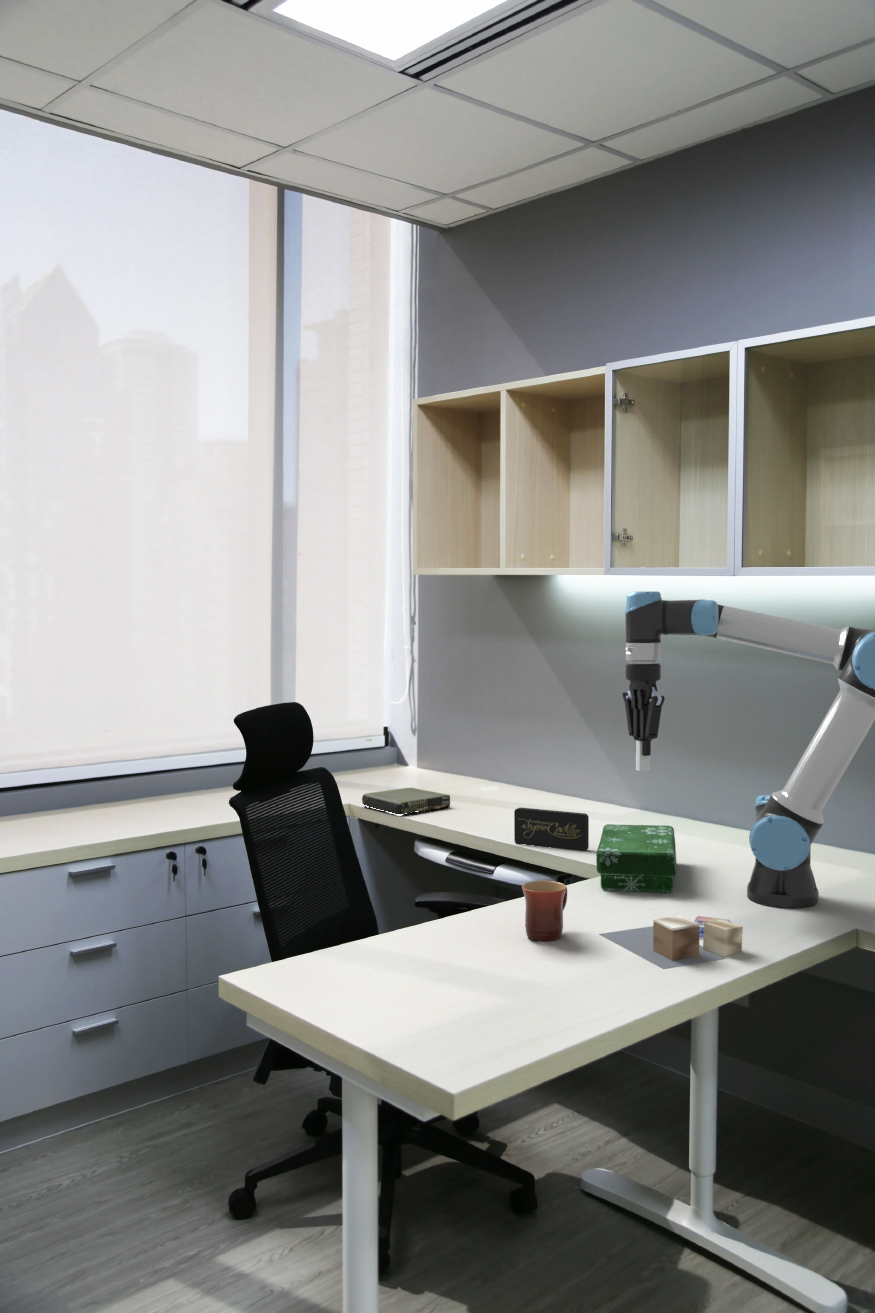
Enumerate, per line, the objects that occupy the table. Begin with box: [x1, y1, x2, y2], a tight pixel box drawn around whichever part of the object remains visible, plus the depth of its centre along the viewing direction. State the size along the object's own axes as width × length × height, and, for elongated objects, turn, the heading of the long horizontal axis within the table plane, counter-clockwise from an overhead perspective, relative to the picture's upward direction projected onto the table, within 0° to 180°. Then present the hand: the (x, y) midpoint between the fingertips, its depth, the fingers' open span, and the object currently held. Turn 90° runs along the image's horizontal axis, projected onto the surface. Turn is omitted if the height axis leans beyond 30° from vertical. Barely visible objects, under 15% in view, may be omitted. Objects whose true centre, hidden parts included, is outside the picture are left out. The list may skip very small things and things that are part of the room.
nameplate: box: [513, 807, 590, 852], centre depth 285 cm, size 21×2×10 cm, turn 61°
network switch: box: [361, 787, 451, 814], centre depth 343 cm, size 23×23×5 cm
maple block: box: [702, 920, 744, 957], centre depth 197 cm, size 5×5×5 cm
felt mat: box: [598, 925, 728, 970], centre depth 200 cm, size 14×22×1 cm, turn 23°
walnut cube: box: [652, 915, 700, 961], centre depth 196 cm, size 6×6×6 cm
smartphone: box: [692, 915, 732, 941], centre depth 211 cm, size 7×1×15 cm
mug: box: [521, 880, 568, 942], centre depth 208 cm, size 12×9×10 cm
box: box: [595, 823, 678, 894], centre depth 254 cm, size 32×18×10 cm, turn 168°
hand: (642, 770), depth 229 cm, fingers closed
